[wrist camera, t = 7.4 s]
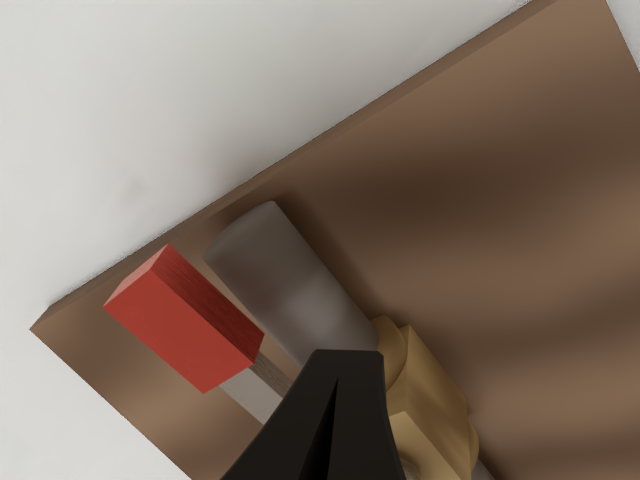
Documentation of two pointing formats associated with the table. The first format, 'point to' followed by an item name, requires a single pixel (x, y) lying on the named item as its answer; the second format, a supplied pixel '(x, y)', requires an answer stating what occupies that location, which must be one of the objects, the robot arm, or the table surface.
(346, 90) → the table surface
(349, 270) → the valve board
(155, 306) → the valve lever
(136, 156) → the table surface
